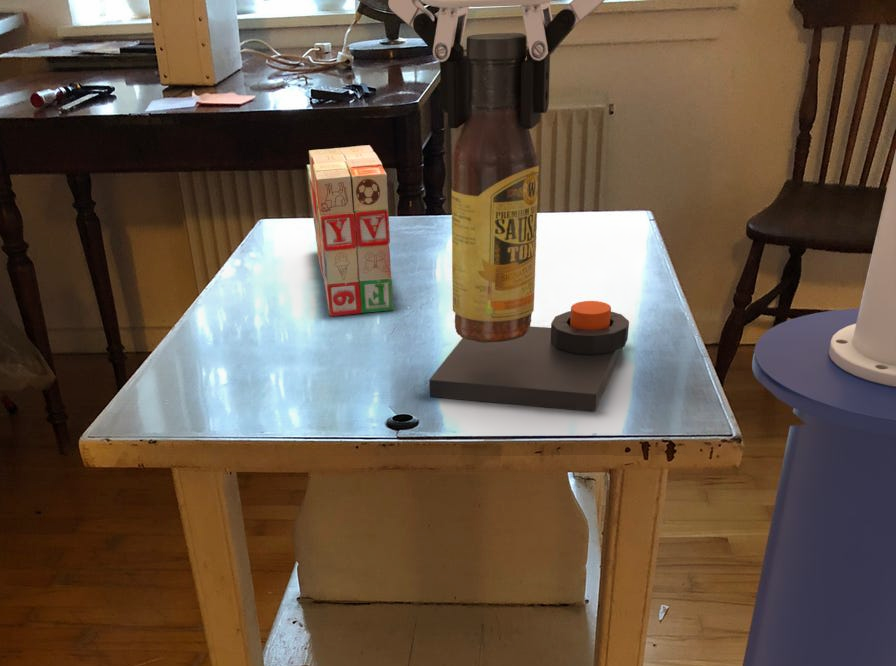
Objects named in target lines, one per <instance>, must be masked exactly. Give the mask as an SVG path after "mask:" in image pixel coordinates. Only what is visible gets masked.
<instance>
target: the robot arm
mask: <svg viewBox="0 0 896 666" xmlns="http://www.w3.org/2000/svg"><path fill="white" fill-rule="evenodd" d="M553 1H554V0H388V1H387V2H388V8H389V9H390V11H391V12H393V14H394V15H396V16H397V17H398V18H400V20H402V21H403V22H404V23H406V24H407V25H408V26H410V28H412V29H413V30H414V32H415V34H417V36H418V37H419V38H420V39H421V40H422V41H423V42H424V44H425V45H426V46H427V47H428V48H429V50H430V51H431V52H432V55H433V57H434V59H435V60H436V61H437V62H439V75H440V76H439V79H440V82H439V83H440V106H441V112H442V113H443V114H445V113H446V114H447V127H448V129H458V128H459V127H461V126H463V125H464V124H465V122H466V120H467V118H468V116H469V106H468V100H469V63H468V61H467V57H466V55H464V54H465V53H464V52H465V51H464V50H465V49H464V46H463V42H464V36H465V31H466V24H467V20H468V14H469V9H470V8H491V7H519V6H520V9H521V14H522V18H523V25H524V30H525V35H526V37H527V56H526V60H525V61H524V62H523V63H522V65H521V127H523V128H524V129H529V130H532V129H533V128H535V127H537V125H538V124H539V123H540V122H541V118H542V114H546V113H547V112H548V109H549V104H550V103H549V102H550V75H551V74H550V72H551V71H550V70H551V55H552V54H554V52H555V51H556V49H557V48H558V47H559V46H560V45H561V43H563V41H564V40H565V39H566V38H567V37H568V35H569V34H570V33H571V32H572V30H573V29H574V28H575V27H576V26H577V25H578V24H579V23H581V22H582V21H583V20H585V19H586V18H587V17H588V16H589V15H590V14H591V13H592V12H594V11H595V10H596V9H597V8H598V7H599V6H601V5H602V4H603V3H604V2H605V0H571V1H570V2H569V3H568V4H567V5H565V7H563V8H562V10H560V11H559V12H558V13H557V14H556V15H555V16H554V17H553V14H552V8H551V3H550V2H553ZM422 3H423V4H422ZM424 4H425V5H427V6H430V7H434V8H439V9H438V16H437V15H436V14H435V13H434V12H433V11H430V10H429V9H427V8H426V7H425V6H424ZM875 234H876V235H875V240H874V244H873V248H872V253H871V256H870V262H869V266H868V270H867V274H866V279H865V283H864V287H863V292H862V296H861V301H860V306H859V308H860V309H859V313H858V318H857V322H856V324H853V325H850V326H847V327H845V328H843V329H841V330H839V331H838V332H837V333H836V334H834V335H833V337H832V339H831V343H830V348H829V355H830V358H831V360H832V361H833V362H834V363H835V364H836V365H837V366H838V367H840V368H841V369H843V370H844V371H846V372H848V373H850V374H852V375H854V376H856V377H859V378H862V379H864V380H867V381H870V382H874V383H878V384H882V385H886V386H891V387H896V150H895V151H894V156H893V160H892V163H891V169H890V174H889V177H888V182H887V187H886V191H885V194H884V199H883V204H882V209H881V212H880V217H879V222H878V225H877V231H876V233H875Z"/></svg>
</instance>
